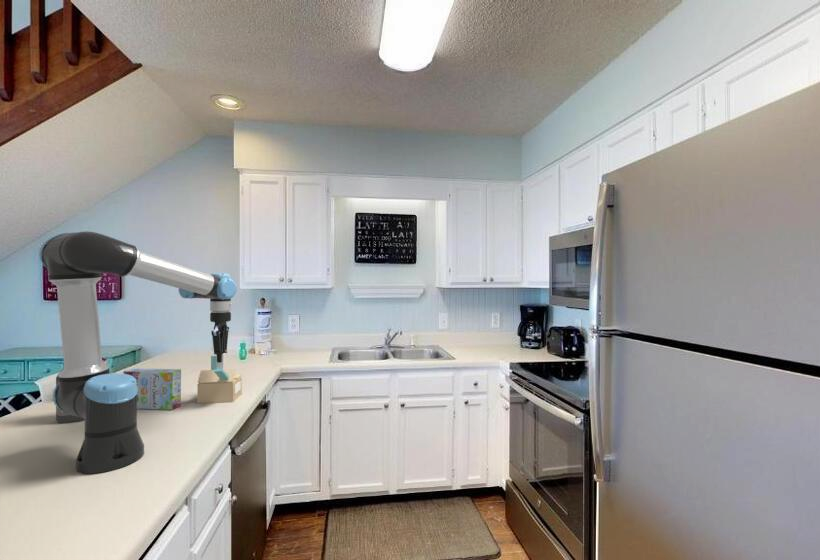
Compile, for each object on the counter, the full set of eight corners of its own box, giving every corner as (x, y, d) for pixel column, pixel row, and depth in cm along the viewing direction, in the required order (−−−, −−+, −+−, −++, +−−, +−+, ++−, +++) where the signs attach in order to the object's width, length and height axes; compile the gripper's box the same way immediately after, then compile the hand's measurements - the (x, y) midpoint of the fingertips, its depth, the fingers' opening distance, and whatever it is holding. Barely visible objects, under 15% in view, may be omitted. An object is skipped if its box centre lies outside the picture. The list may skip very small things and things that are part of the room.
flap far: (208, 377, 166) (208, 355, 166) (241, 376, 168) (241, 354, 168) (203, 380, 161) (203, 357, 161) (237, 379, 163) (237, 356, 163)
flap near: (233, 381, 157) (226, 373, 150) (198, 383, 156) (189, 374, 148) (235, 370, 160) (229, 361, 152) (201, 370, 159) (192, 362, 151)
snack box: (182, 405, 153) (182, 368, 153) (171, 410, 147) (171, 372, 147) (133, 404, 155) (133, 367, 155) (121, 408, 149) (121, 370, 149)
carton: (233, 402, 157) (233, 382, 157) (197, 403, 155) (197, 384, 155) (242, 394, 168) (242, 376, 168) (208, 395, 166) (208, 377, 166)
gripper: (224, 313, 147) (224, 373, 147) (235, 310, 159) (235, 366, 160) (204, 313, 146) (204, 374, 146) (216, 310, 159) (216, 366, 159)
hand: (220, 369), depth 153 cm, fingers closed
